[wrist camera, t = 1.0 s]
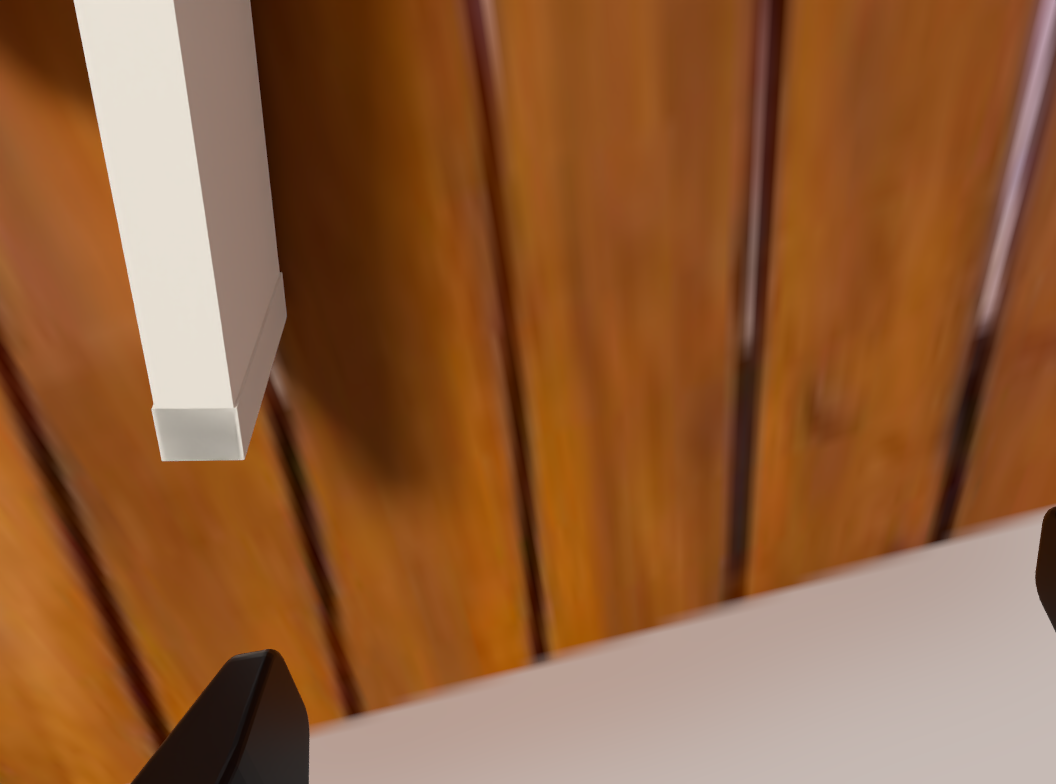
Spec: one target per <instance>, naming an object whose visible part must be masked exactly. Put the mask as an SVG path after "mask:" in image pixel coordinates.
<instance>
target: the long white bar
mask: <svg viewBox="0 0 1056 784" xmlns="http://www.w3.org/2000/svg"><path fill="white" fill-rule="evenodd" d="M74 5H75V10H76V15H77V20H78V25H79V30H80V35H81V40H82V45H83V50H84V55H85V60H86V65H87V70H88V75H89V80H90V85H91V90H92V95H93V100H94V105H95V110H96V115H97V120H98V125H99V130H100V136H101V141H102V146H103V151H104V156H105V161H106V166H107V171H108V176H109V181H110V186H111V191H112V196H113V201H114V206H115V211H116V216H117V221H118V226H119V231H120V236H121V241H122V246H123V251H124V256H125V261H126V266H127V271H128V276H129V281H130V287H131V292H132V297H133V302H134V307H135V312H136V317H137V322H138V327H139V332H140V337H141V342H142V347H143V352H144V357H145V362H146V367H147V372H148V377H149V382H150V387H151V392H152V397H153V402H154V405H153V407H152V414H153V419H154V424H155V429H156V434H157V439H158V444H159V449H160V454H161V459H162V461H204V460H245V456H246V453H247V450H248V446H249V443H250V440H251V436H252V433H253V429H254V426H255V423H256V419H257V416H258V413H259V409H260V406H261V402H262V399H263V396H264V392H265V389H266V386H267V382H268V379H269V375H270V372H271V369H272V365H273V362H274V359H275V355H276V352H277V349H278V345H279V342H280V338H281V335H282V332H283V328H284V325H285V322H286V318H287V312H286V303H285V294H284V284H283V275H282V272H280V271H279V261H278V252H277V243H276V234H275V225H274V215H273V206H272V197H271V188H270V179H269V169H268V160H267V151H266V142H265V132H264V123H263V114H262V105H261V96H260V86H259V77H258V68H257V59H256V49H255V40H254V31H253V22H252V13H251V3H250V0H74Z"/></svg>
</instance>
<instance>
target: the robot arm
mask: <svg viewBox="0 0 1056 784" xmlns="http://www.w3.org/2000/svg"><path fill="white" fill-rule="evenodd" d="M1035 579H1036V587H1037V592H1038V595H1039V598H1040V601H1041V603H1042V605H1043V607H1044V609H1045V611H1046V613H1047V615H1048V617H1049V619H1050V621H1051V623H1052V625H1053V627H1054V629H1055V631H1056V507H1053V508H1051V509H1049V510H1048V511H1047V513H1046V514H1045V516H1044V519H1043V523H1042V530H1041V538H1040V544H1039V551H1038V559H1037V566H1036V575H1035ZM131 784H309V721H308V716H307V711H306V708H305V705H304V703H303V701H302V698H301V696H300V694H299V692H298V690H297V687H296V685H295V683H294V681H293V679H292V676H291V674H290V672H289V670H288V667H287V665H286V663H285V661H284V659H283V657H282V656H281V654H280V653H279V652H278V651H276V650H273V649H266V650H261V651H255V652H250V653H244V654H239V655H236V656H233V657H232V658H231V659H229V660H228V661H227V662H226V663H225V664H224V666H223V667H222V668H221V669H220V671H219V672H218V673H217V675H216V676H215V677H214V678H213V680H212V681H211V682H210V683H209V685H208V686H207V687H206V689H205V690H204V691H203V692H202V694H201V695H200V696H199V697H198V699H197V700H196V701H195V703H194V704H193V705H192V706H191V708H190V709H189V710H188V711H187V713H186V714H185V715H184V717H183V718H182V719H181V720H180V722H179V723H178V724H177V725H176V727H175V728H174V729H173V730H172V732H171V733H170V734H169V736H168V737H167V738H166V739H165V741H164V742H163V743H162V744H161V746H160V747H159V748H158V750H157V751H156V752H155V753H154V755H153V756H152V757H151V758H150V760H149V761H148V762H147V764H146V765H145V766H144V767H143V769H142V770H141V771H140V772H139V774H138V775H137V776H136V778H135V779H134V780H133V781H132V783H131Z"/></svg>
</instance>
